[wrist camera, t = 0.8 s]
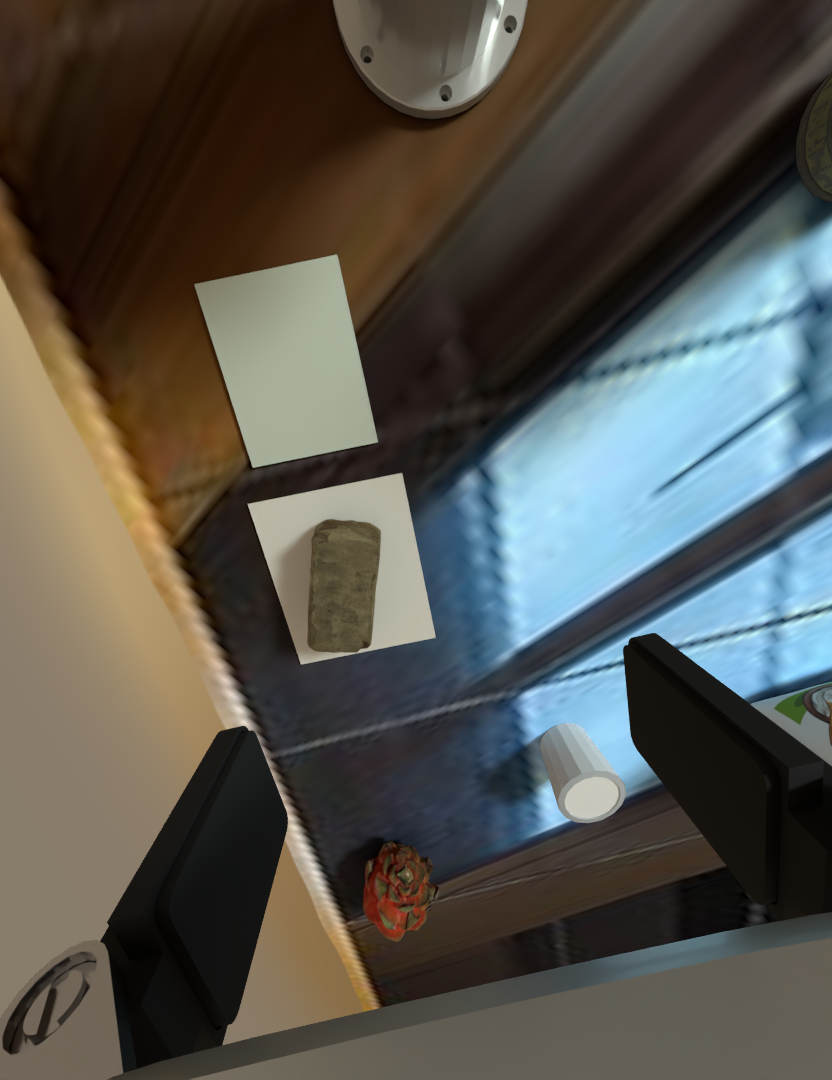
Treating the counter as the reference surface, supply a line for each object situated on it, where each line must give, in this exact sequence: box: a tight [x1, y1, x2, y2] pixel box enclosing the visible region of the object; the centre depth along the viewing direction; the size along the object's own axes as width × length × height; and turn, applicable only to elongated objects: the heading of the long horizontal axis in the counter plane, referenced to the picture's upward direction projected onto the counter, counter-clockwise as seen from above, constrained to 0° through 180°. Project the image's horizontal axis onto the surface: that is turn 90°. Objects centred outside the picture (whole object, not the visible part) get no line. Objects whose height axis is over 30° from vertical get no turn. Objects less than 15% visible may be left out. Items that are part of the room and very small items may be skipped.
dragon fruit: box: [363, 841, 439, 942], centre depth 47 cm, size 8×8×12 cm
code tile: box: [248, 473, 436, 664], centre depth 38 cm, size 17×14×1 cm
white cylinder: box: [540, 723, 626, 823], centre depth 43 cm, size 7×7×7 cm
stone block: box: [307, 519, 381, 653], centre depth 36 cm, size 6×12×5 cm, turn 174°
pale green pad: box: [194, 255, 378, 468], centre depth 32 cm, size 14×11×1 cm
